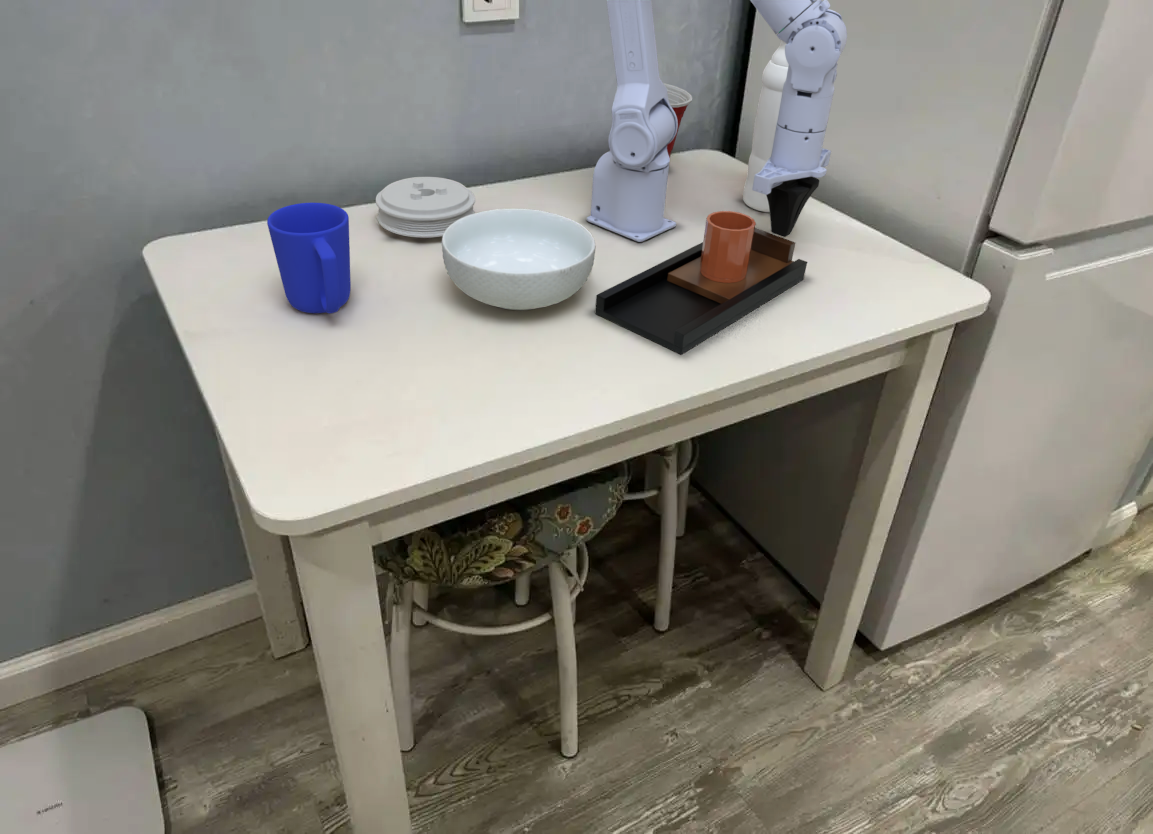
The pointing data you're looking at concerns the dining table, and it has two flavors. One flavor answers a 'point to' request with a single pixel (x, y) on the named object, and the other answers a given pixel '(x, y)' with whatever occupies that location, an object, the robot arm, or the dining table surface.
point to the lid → (423, 206)
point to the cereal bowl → (518, 257)
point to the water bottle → (766, 124)
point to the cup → (727, 246)
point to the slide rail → (684, 303)
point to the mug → (312, 255)
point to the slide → (763, 262)
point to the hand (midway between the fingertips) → (780, 233)
